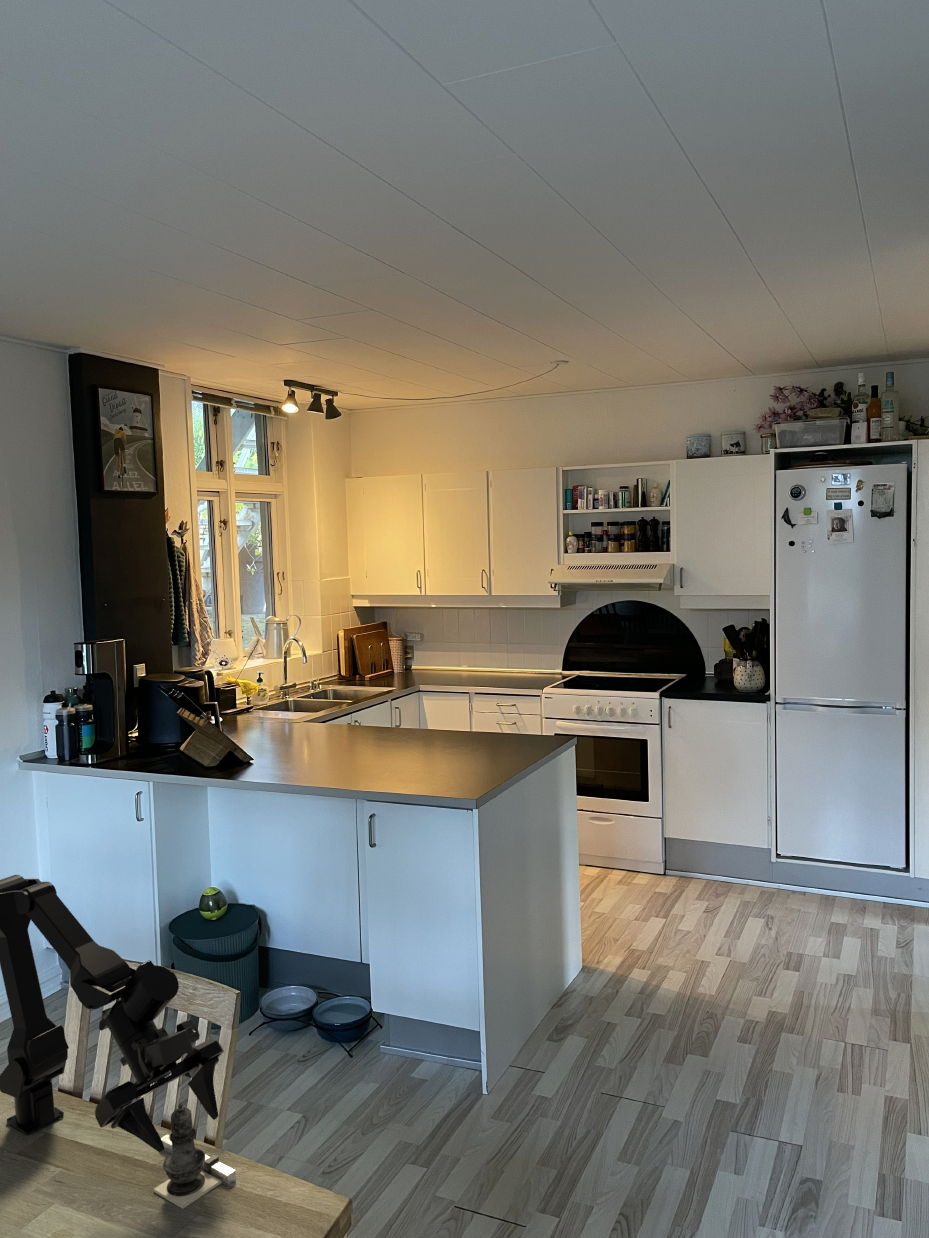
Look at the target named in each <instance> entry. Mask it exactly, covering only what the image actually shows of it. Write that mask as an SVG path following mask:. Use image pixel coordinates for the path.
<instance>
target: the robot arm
mask: <svg viewBox="0 0 929 1238" xmlns="http://www.w3.org/2000/svg"><path fill="white" fill-rule="evenodd" d="M31 922H32V923H33V924H34V926H35V927H36V928H37V930H38V931H39V932H40V933H41V934H42V936H43V937H44V938H45V940H46V941H47V943H49V945H50V946H51V947H52V948H53V950H54V951H55V953H57V955H58V956H59V957H60V959H61V960H62V961H63V962H64V964H65V965H66V967H67V969H68V970H69V983H70V984H69V985H70V987H71V988H72V990H73V992H74V993H75V995H76V997H77V999H78V1001H79V1002H80V1003H81V1004H82V1006H84V1008H86V1009H87V1010H97V1009H100V1008H102V1007H104V1006H107V1005H109V1004H111V1003H113V1002H114V1003H113V1005H112V1006H111V1007H108V1008H106V1009H104V1010H102V1011H101V1019H100V1021H99V1024H98V1030H99V1031H104V1030H106V1029H108V1030H109V1032H110V1034H111V1035H112V1038H113V1039H114V1041H115V1043H116V1044H117V1047H118V1049H119V1051H120V1053H121V1054H122V1057H121V1058H120V1059H119V1061H120V1063H121V1065H122V1067H125V1066H128V1068H129V1070H130V1071H131V1073H132V1075H133V1077H134V1079H135V1082H132V1081H130V1080H128V1081H126V1082H124V1083H122V1084H120V1085H118V1086H116V1087H114V1088H112V1089H110V1090H108V1091H107V1092H106V1094H105V1095H104V1096H103V1097H102V1099H101V1100H100V1101H99V1102H98V1104H97V1105H96V1107H95V1111H94V1113H95V1114H94V1115H95V1116H94V1117H95V1119H96V1121H97V1123H98V1125H99V1127H100V1128H105V1127H106V1126H108V1125H110V1127H111V1129H112V1130H113V1129H116V1128H120V1129H122V1130H123V1131H125V1132H127V1133H129V1134H130V1135H132V1136H134V1137H136V1138H137V1139H139V1140H141V1141H142V1142H143V1143H144V1144H146V1145H148V1146H149V1147H151V1148H152V1149H154V1150H155V1151H156V1152H158V1153H162V1152H163V1151H165V1150H164V1145H163V1143H162V1140H161V1138H162V1137H161V1136H160V1134H159V1132H158V1130H157V1129H156V1127H155V1126H154V1124H153V1121H152V1120H151V1119H150V1116H149V1115H148V1113H147V1110H146V1104H145V1098H144V1097H145V1096H146V1097H147V1095H149V1094H151V1093H153V1092H155V1091H157V1090H159V1089H160V1088H162V1087H164V1086H166V1085H168V1084H169V1083H172V1082H173V1081H175V1080H178V1079H179V1078H181V1077H183V1076H185V1077H187V1078H190V1080H189V1081H188V1083H187V1085H188V1086H189V1088H190V1090H192V1092H193V1095H195V1097H196V1098H197V1100H198V1101H199V1103H200V1104H201V1106H202V1107H203V1109H204V1110H205V1112H206V1113H207V1115H208V1116H209V1117H210V1118H211V1119H212V1120H213V1121H215V1120H217V1119H218V1117H219V1111H218V1105H217V1100H216V1099H217V1098H216V1092H215V1087H214V1086H215V1085H214V1084H215V1083H214V1071H215V1067H216V1066H217V1064H218V1063H219V1062H220V1056H222V1054H223V1053H224V1052H225V1050H224V1048H223V1047H222V1045H221V1044H220V1042H219V1041H218V1040H216V1039H214V1038H212V1037H210V1038H209V1039H206V1040H205V1041H203V1042H201V1043H199V1044H197V1045H195V1046H193V1043H195V1042H196V1041H197V1042H198V1041H199V1040H200V1037H201V1034H200V1032H199V1029H198V1027H197V1025H196V1024H195V1022H194V1021H193V1019H192V1018H190V1019H189V1018H188V1019H186V1020H184V1021H181V1022H180V1023H178V1024H177V1025H175V1028H176V1031H175V1032H173V1033H171V1034H168V1032H167V1030H166V1029H165V1028H164V1027H163V1026H162V1027H160V1028H158V1027H157V1025H156V1023H155V1021H154V1020H156V1019H157V1018H158V1017H159V1016H160V1014H162V1012H163V1011H164V1010H165V1008H166V1007H167V1006H168V1005H169V1004H170V1002H171V1001H172V1000H174V998H175V996H176V995H177V994H178V991H179V987H180V983H179V980H178V979H179V978H178V977H177V975H176V974H175V973H174V971H171V970H170V969H168V968H167V967H165V966H162V965H155V964H154V963H153V962H152V960H151V959H149V960H147V961H145V962H142V963H141V964H139V965H138V966H137V967H136V966H133V965H131V964H129V963H127V961H126V960H124V958H123V957H121V956H120V955H119V954H118V953H117V952H116V951H115V950H113V949H111V948H108V947H105V946H101V945H99V944H98V943H97V942H96V941H95V940H94V939H93V937H91V935H90V933H88V932H87V930H86V929H85V928H84V927H83V925H82V924H81V923H80V921H78V919H77V918H76V917H75V916H74V914H73V913H72V912H71V911H70V909H69V908H68V907H67V906H66V904H65V903H64V902H63V901H62V899H61V898H60V897H59V896H58V895H57V890H56V887H55V885H54V884H53V883H52V882H50V881H41V880H40V878H24V877H23V876H21V875H20V874H13V875H10V876H7V877H4V878H1V879H0V970H1V975H2V980H3V985H4V989H5V993H6V996H7V997H6V998H7V1002H8V1007H9V1011H10V1012H9V1013H10V1016H11V1020H12V1026H13V1029H12V1032H11V1036H10V1038H9V1042H8V1045H7V1048H6V1050H7V1051H6V1052H7V1061H8V1064H7V1066H5V1068H4V1069H3V1071H2V1072H1V1073H0V1093H2V1094H4V1095H8V1096H11V1097H13V1098H14V1099H13V1100H14V1101H13V1102H14V1111H15V1113H14V1115H12V1116H10V1117H8V1118H7V1119H6V1124H8V1125H10V1126H11V1127H13V1128H15V1129H16V1130H17V1131H19V1132H21V1133H23V1134H25V1135H29V1134H32V1133H33V1132H35V1131H37V1130H39V1129H41V1128H43V1127H45V1126H47V1125H49V1124H51V1123H53V1122H54V1121H57V1120H58V1119H61V1118H62V1117H64V1115H65V1114H64V1113H65V1112H64V1111H63V1110H61V1109H59V1108H58V1107H56V1106H55V1100H54V1087H53V1079H55V1078H56V1077H58V1076H60V1075H64V1073H65V1068H66V1064H67V1060H68V1057H69V1054H68V1053H69V1051H68V1049H69V1048H70V1046H69V1045H68V1042H67V1039H66V1036H65V1035H66V1034H65V1033H66V1032H65V1029H64V1027H63V1025H62V1024H59V1025H56V1023H54V1022H53V1021H52V1020H51V1019H50V1018H48V1014H47V1011H46V1006H45V1001H44V999H43V993H42V989H41V988H42V987H41V983H40V979H39V975H38V970H37V966H36V965H37V964H36V962H35V957H34V952H33V948H32V943H31V939H30V934H29V926H30V924H31ZM185 1054H186V1055H185ZM184 1055H185V1057H184V1058H183V1059H182V1057H183V1056H184ZM181 1059H182V1060H181ZM178 1060H181V1061H179V1062H177V1061H178Z"/></svg>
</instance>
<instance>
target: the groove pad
mask: <svg viewBox="0 0 929 1238" xmlns="http://www.w3.org/2000/svg"><path fill="white" fill-rule="evenodd" d="M200 1173H201V1174H202V1175H203V1176H204V1177H205V1183H204V1185H203V1187H202V1188H201V1189H199V1190H198V1191H197V1192H195V1193H193V1194H190V1195H187V1196H173V1195H171V1194H169V1193H168V1192H167V1184H168V1183H169V1181H170V1179H169V1178H168V1179H167V1180H165V1181H164V1182H163V1183H161V1184H159V1185H158V1186H156V1187H154V1188H153V1192H154V1193H156V1194H157V1195H158V1196H160V1197H162V1198H164V1199H166V1200H167V1201H169V1202H171V1203H172V1204H174V1205H176V1206H177V1207H179V1208H181V1209H185V1208H186V1207H188V1206H189V1205H191V1204H192V1203H194V1202H195V1201H196V1200H198V1199H199V1198H201V1197H203V1196H204V1195H205V1194H207V1193H209V1192H210V1191H211V1190H213V1189H215V1188H216V1187H218V1186H219V1185H221V1184H222V1181H221V1180H219V1179H217V1178H216V1177H214V1176H212V1175H210V1174H208V1173H206V1172H205V1171H203V1170H202V1171H201V1172H200Z"/></svg>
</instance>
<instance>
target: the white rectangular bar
mask: <svg viewBox="0 0 929 1238" xmlns="http://www.w3.org/2000/svg"><path fill="white" fill-rule="evenodd" d="M169 1136H170V1135H169V1134H166V1135H164V1136H162V1137H160V1138H161V1140H162V1143H163V1145H164V1150H163V1151H165V1152H167V1153H169V1155H170V1154H172V1141H171V1140H170V1139H169ZM205 1156H206V1157H205V1161H204V1164H203V1168H202V1170H203V1171H205V1172H206V1173H208V1174H210V1175H212V1176H214V1177H216V1178H217V1179H219V1180H221V1183H222V1182H223V1183H224V1184H225V1185H228V1186H229V1185H230V1184H232V1183H233V1182H235V1181H236V1180H237V1175H236V1169H233V1168H232V1167H230V1166H228V1165H226V1164H224V1163H222V1162H220V1159H219V1158H220V1157H219V1156H218V1155H216V1154H213V1155H211V1156H209V1155H207V1154H205Z"/></svg>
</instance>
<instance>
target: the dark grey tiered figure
mask: <svg viewBox="0 0 929 1238" xmlns="http://www.w3.org/2000/svg"><path fill="white" fill-rule="evenodd" d="M177 1107H178V1108H176V1109H175V1110H174V1111H173V1112H172V1113H171V1114H170V1126H171V1133H170V1135H169V1139H170V1140H171V1141H172V1154H170V1153H169V1154H168V1155H167V1156H166V1157H165V1159H164V1160H163V1163H162V1169H163V1170H164V1171H165V1174H166V1176H167V1178H168V1180H169V1179H170V1181H169V1183H168V1184H167V1192H168V1193H169V1194H171V1195H173V1196H187V1195H190V1194H193V1193H195V1192H197V1191H198V1190H199V1189H201V1188H202V1187H203V1185H204V1183H205V1177H204V1176H203V1175H202V1174H201V1173H200V1172H201V1171H202V1168H203V1164H204V1161H205V1157H206V1156H205V1155H206V1153H205V1151H204V1150H202V1149H200V1148H198V1147H195V1136H196V1129H195V1128H193V1118H192V1117H193V1116H192V1111H191V1109H189V1108H188V1107H185V1106H184V1105H183V1103H181V1102H179V1104H178V1105H177Z"/></svg>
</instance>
